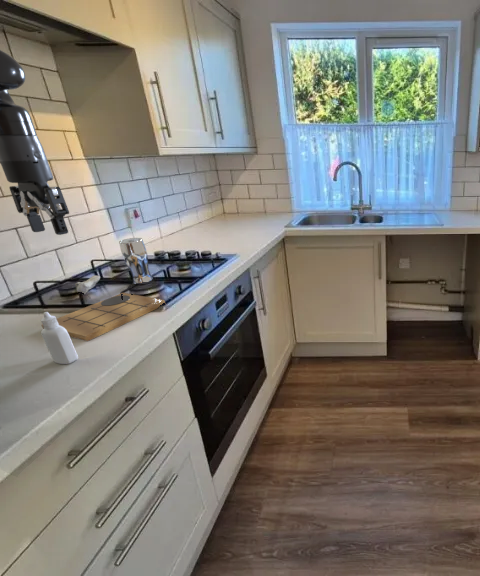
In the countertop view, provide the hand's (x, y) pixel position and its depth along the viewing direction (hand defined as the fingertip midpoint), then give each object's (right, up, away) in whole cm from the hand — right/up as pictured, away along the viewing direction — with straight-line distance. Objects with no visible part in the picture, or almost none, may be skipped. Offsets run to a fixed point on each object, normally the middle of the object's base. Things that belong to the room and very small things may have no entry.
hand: (50, 232), depth 84 cm
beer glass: (-7, -11, +42) cm, 44 cm away
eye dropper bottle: (+5, -29, -2) cm, 30 cm away
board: (0, -21, +18) cm, 28 cm away
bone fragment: (-21, -13, +38) cm, 45 cm away
